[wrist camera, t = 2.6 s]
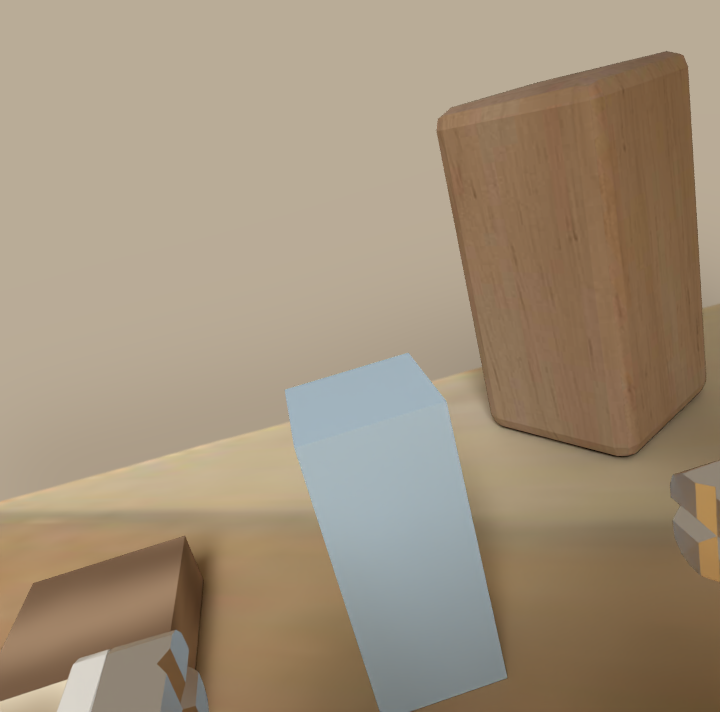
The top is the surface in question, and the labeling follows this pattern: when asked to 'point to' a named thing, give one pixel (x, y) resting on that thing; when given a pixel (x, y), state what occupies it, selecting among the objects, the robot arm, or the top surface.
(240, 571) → the top surface
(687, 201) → the block
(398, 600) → the post
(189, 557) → the plinth
